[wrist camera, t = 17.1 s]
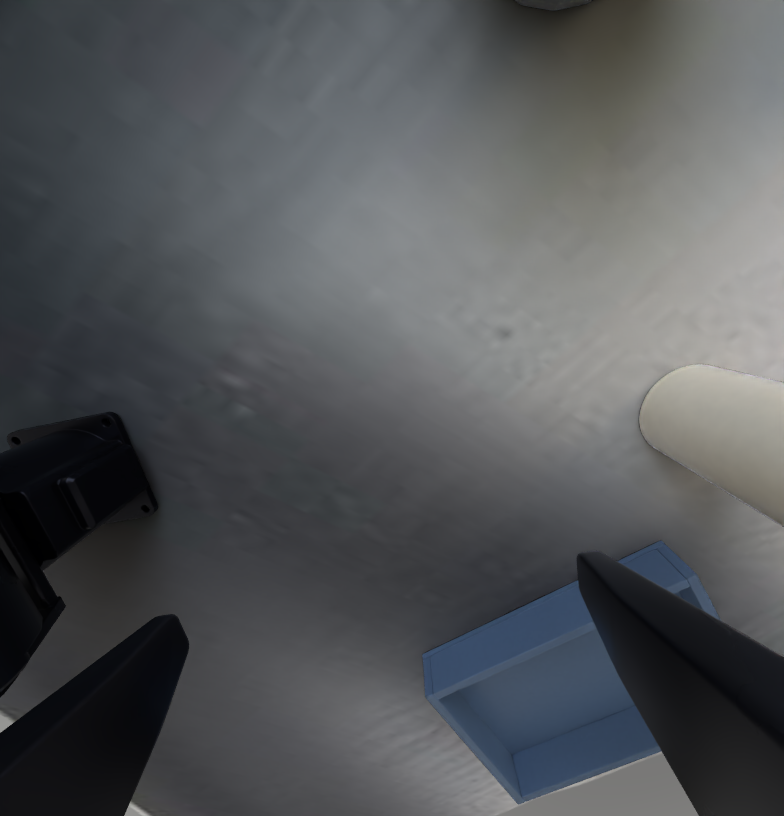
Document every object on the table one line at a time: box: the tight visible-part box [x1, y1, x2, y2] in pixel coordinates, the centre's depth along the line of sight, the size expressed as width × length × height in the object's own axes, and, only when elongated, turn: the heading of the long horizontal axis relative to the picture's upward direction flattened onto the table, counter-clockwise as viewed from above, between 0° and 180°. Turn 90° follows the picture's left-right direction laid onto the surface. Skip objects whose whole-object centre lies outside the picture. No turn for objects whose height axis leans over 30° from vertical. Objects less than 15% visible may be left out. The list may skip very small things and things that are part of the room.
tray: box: [423, 541, 721, 804], centre depth 24 cm, size 17×12×3 cm
